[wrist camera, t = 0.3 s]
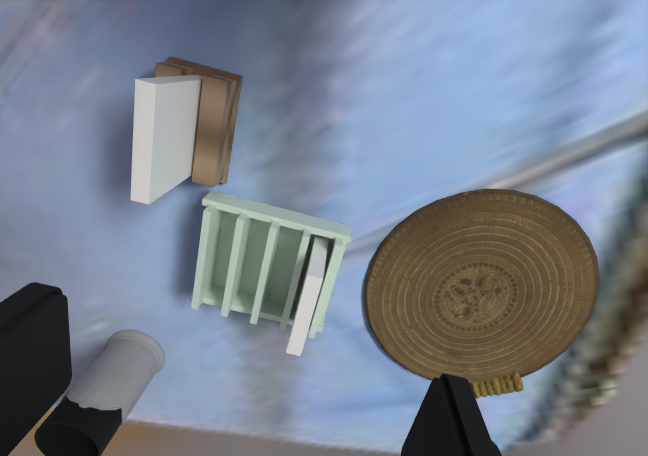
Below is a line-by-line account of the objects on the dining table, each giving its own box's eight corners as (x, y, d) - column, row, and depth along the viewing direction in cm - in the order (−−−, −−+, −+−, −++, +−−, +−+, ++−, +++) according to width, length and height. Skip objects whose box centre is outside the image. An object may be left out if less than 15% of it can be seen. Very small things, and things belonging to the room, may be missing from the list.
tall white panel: (195, 74, 39) (135, 78, 28) (210, 78, 39) (156, 84, 28) (186, 165, 43) (130, 199, 32) (200, 169, 43) (148, 204, 32)
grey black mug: (169, 340, 55) (108, 432, 41) (155, 405, 61) (97, 505, 47) (110, 322, 55) (29, 409, 41) (101, 389, 60) (27, 486, 46)
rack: (214, 187, 45) (175, 223, 35) (351, 223, 46) (351, 268, 36) (201, 282, 51) (164, 336, 41) (324, 313, 51) (317, 374, 41)
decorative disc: (576, 150, 39) (631, 367, 48) (560, 145, 42) (614, 350, 51) (327, 248, 46) (415, 424, 54) (329, 238, 49) (412, 405, 57)
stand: (171, 57, 40) (153, 56, 36) (242, 76, 40) (231, 77, 36) (163, 165, 44) (146, 174, 41) (226, 181, 45) (215, 192, 41)
